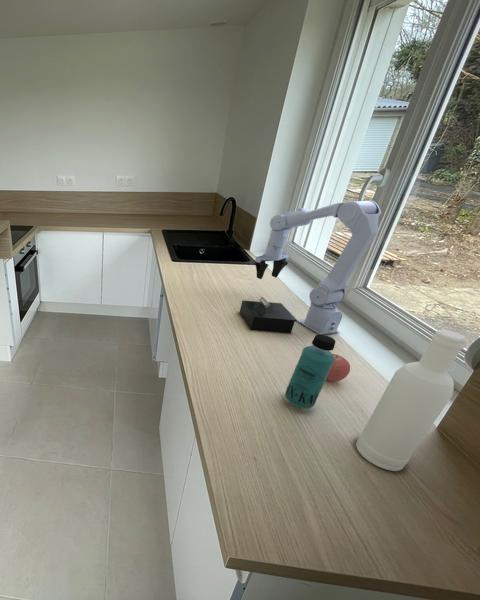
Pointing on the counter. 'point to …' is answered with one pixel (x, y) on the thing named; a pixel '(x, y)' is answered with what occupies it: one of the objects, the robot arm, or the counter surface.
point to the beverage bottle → (311, 372)
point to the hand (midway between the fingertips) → (266, 277)
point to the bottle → (411, 404)
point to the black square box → (265, 323)
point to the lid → (268, 310)
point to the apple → (338, 369)
